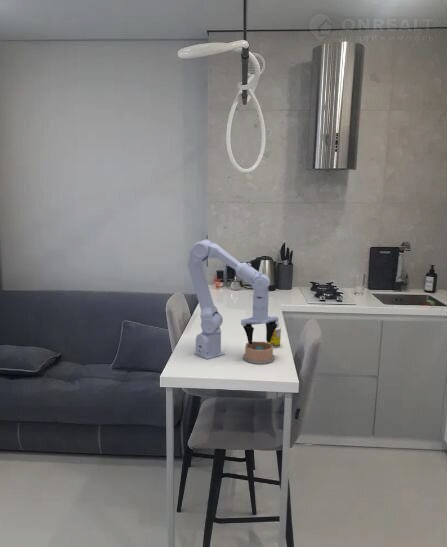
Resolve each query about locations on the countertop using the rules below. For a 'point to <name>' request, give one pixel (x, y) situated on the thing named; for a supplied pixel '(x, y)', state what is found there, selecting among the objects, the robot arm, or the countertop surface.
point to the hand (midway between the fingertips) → (259, 342)
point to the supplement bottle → (276, 337)
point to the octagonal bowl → (259, 353)
